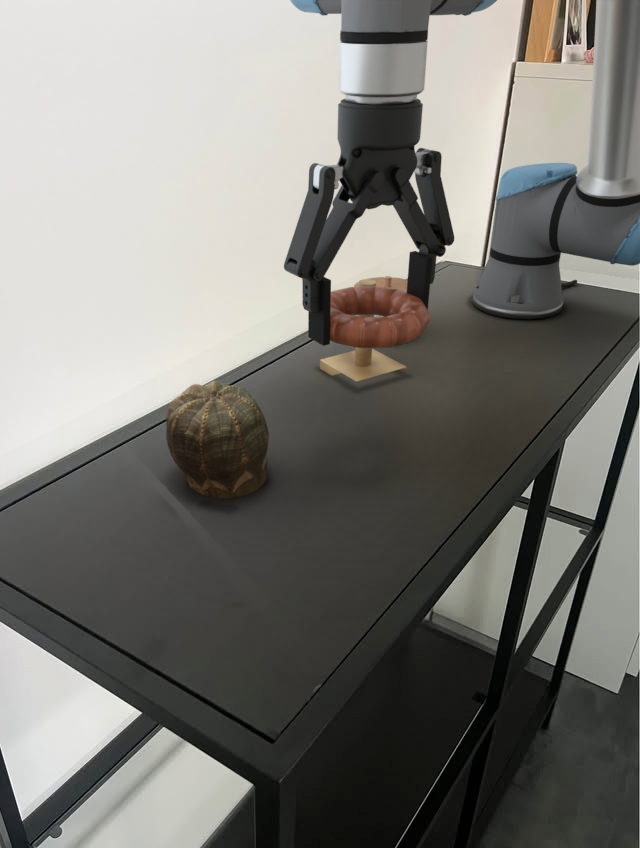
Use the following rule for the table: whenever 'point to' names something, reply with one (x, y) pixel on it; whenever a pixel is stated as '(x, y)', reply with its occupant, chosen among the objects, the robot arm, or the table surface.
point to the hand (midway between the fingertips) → (369, 327)
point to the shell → (218, 439)
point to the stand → (360, 358)
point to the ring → (395, 328)
